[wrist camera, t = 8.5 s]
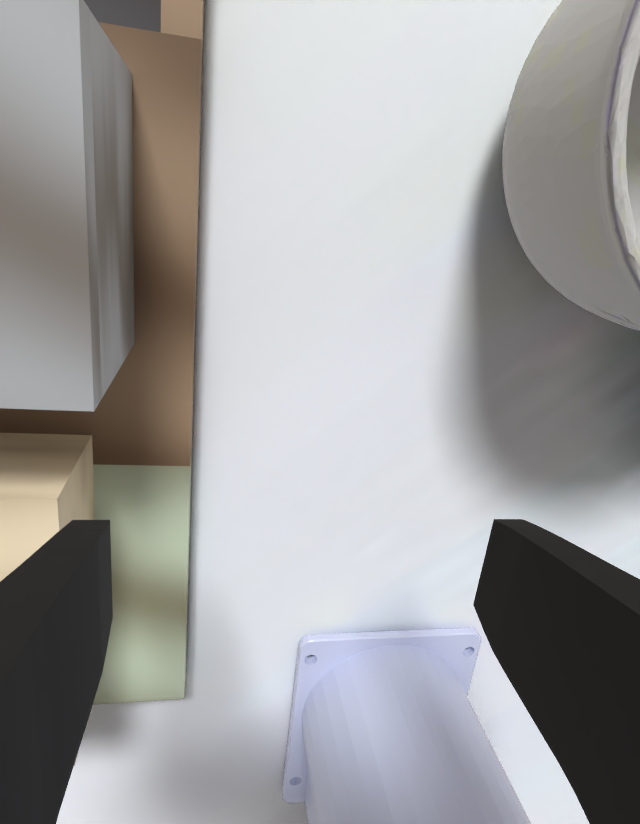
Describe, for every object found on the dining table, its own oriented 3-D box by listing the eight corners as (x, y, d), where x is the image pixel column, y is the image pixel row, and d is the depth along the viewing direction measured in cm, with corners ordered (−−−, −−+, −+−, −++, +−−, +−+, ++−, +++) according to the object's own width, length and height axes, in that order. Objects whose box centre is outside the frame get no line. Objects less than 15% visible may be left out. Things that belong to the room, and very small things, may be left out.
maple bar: (101, 662, 20) (74, 765, 16) (-20, 667, 19) (-76, 778, 16) (91, 435, 17) (57, 498, 13) (-52, 431, 16) (-131, 497, 13)
